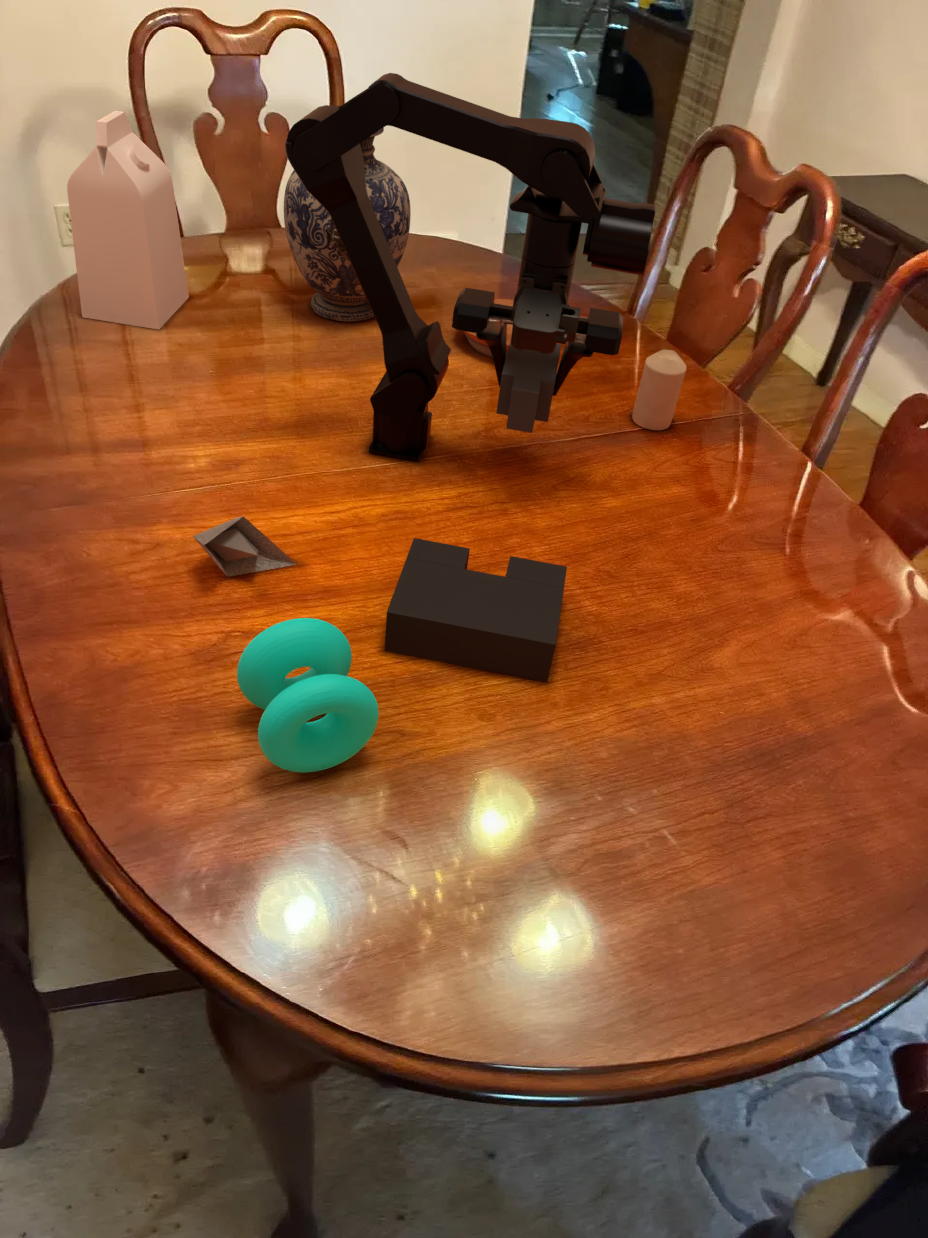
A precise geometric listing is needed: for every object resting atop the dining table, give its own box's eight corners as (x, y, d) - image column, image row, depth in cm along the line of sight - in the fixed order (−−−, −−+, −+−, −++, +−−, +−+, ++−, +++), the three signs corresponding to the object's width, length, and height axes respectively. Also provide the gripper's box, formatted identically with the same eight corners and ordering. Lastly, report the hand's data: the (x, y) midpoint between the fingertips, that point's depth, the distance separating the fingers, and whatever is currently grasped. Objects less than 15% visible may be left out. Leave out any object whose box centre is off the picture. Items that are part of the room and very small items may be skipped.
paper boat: (269, 519, 101) (324, 538, 96) (254, 576, 102) (308, 598, 96) (175, 499, 92) (231, 519, 86) (160, 561, 92) (214, 585, 87)
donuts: (265, 792, 76) (260, 710, 69) (237, 706, 82) (229, 624, 76) (380, 761, 79) (386, 680, 73) (344, 681, 86) (346, 600, 79)
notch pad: (384, 650, 89) (386, 612, 86) (410, 575, 98) (413, 537, 95) (547, 682, 88) (555, 644, 85) (558, 603, 97) (567, 566, 94)
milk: (116, 285, 144) (88, 99, 126) (188, 297, 143) (170, 111, 126) (82, 317, 135) (47, 120, 117) (159, 329, 134) (135, 134, 117)
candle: (669, 433, 127) (689, 366, 120) (630, 426, 127) (647, 358, 120) (671, 414, 131) (689, 348, 124) (632, 407, 131) (649, 341, 125)
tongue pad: (492, 426, 104) (498, 386, 101) (506, 374, 114) (511, 336, 110) (545, 435, 104) (552, 395, 100) (554, 382, 113) (561, 344, 110)
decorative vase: (400, 344, 139) (412, 141, 120) (275, 331, 138) (268, 125, 119) (408, 287, 155) (420, 101, 136) (296, 275, 153) (293, 85, 135)
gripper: (450, 271, 93) (438, 409, 103) (634, 300, 92) (602, 437, 103) (467, 234, 101) (453, 365, 112) (635, 260, 100) (606, 390, 111)
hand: (527, 389), depth 109 cm, fingers closed on tongue pad, 6 cm apart
